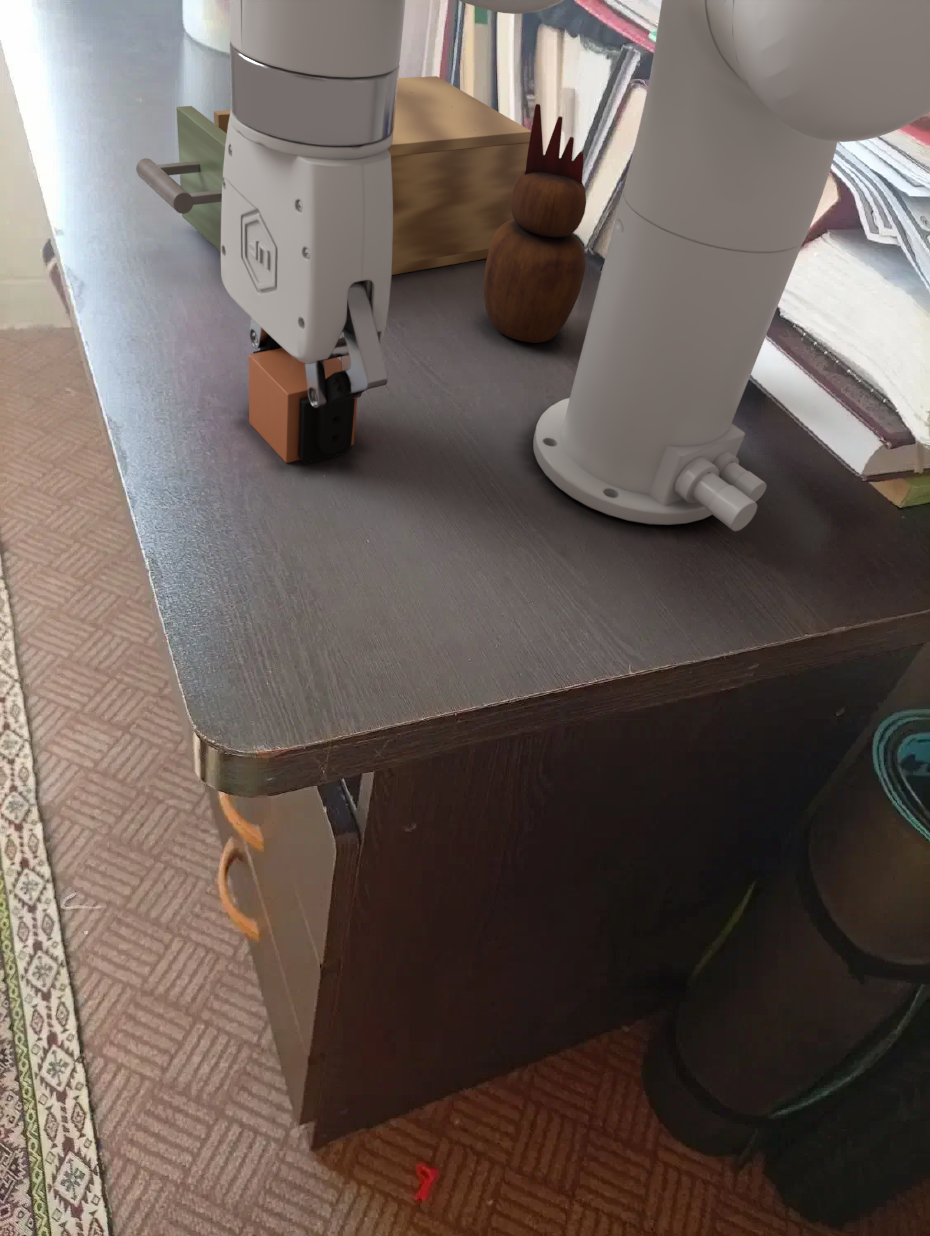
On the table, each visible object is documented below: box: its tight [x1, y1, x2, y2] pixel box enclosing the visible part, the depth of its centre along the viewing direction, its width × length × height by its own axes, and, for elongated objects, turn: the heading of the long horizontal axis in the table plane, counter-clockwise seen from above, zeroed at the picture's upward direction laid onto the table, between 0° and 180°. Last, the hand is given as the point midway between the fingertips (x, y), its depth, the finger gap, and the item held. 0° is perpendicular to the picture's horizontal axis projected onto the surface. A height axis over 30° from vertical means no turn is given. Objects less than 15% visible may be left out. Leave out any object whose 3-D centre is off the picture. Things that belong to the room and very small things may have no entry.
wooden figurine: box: [483, 103, 587, 344], centre depth 65 cm, size 7×6×15 cm
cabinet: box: [387, 75, 531, 276], centre depth 76 cm, size 15×13×10 cm
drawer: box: [135, 105, 231, 253], centre depth 70 cm, size 18×11×8 cm, turn 126°
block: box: [248, 348, 358, 464], centre depth 56 cm, size 4×4×4 cm
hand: (301, 428), depth 57 cm, fingers closed on block, 4 cm apart
